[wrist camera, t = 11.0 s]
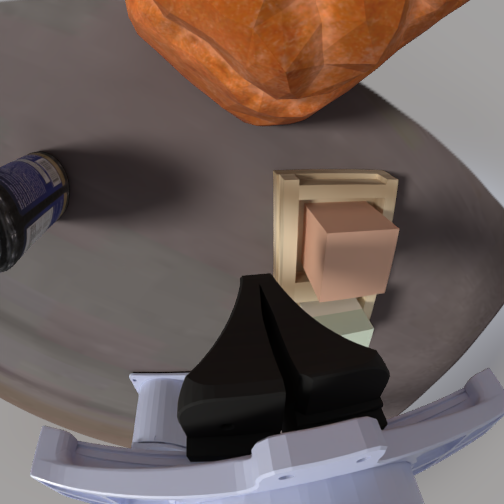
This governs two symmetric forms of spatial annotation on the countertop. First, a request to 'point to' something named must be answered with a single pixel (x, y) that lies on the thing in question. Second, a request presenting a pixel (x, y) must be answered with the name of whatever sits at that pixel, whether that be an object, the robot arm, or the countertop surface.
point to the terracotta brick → (347, 249)
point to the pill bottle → (29, 203)
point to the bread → (280, 47)
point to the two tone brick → (342, 318)
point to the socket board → (316, 191)
